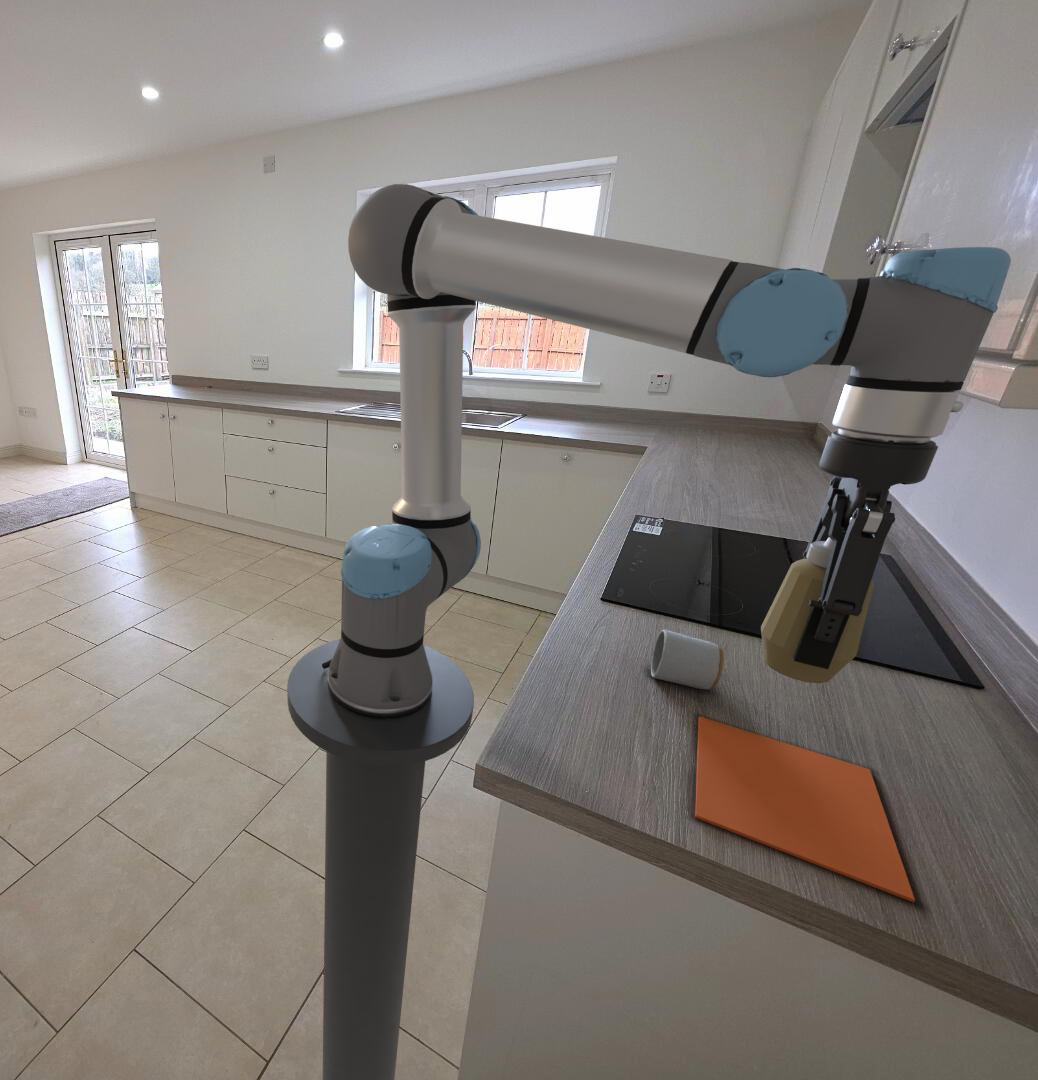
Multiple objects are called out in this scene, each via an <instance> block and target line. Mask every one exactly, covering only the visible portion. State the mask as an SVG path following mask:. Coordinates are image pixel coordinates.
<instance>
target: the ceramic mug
mask: <svg viewBox="0 0 1038 1080" xmlns="http://www.w3.org/2000/svg"><path fill="white" fill-rule="evenodd" d="M724 653H725V652H724V651H723V648H722V647H721V646H720V645H718V644H716V643H714V642H711V641H708V640H705V639H702V638H696V637H693V636H689V635H687V634H682V633H680V632H675V631H672V630H668V629H663V630H661V631H660V632H659V634H658V636H657V638H656V641H655V644H654V647H653V652H652V658H651V664H650V674H651V677H652V678H654V679H656V680H661V681H665V682H668V683H673V684H678V685H682V686H687V687H691V688H695V689H698V690H712V689H715V688H716V687H717V685H718V684H719V682H720V680H721V677H722V675H723V672H724V671H723V670H724V665H725V654H724Z"/></svg>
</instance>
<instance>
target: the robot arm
mask: <svg viewBox="0 0 1038 1080" xmlns="http://www.w3.org/2000/svg"><path fill="white" fill-rule="evenodd" d="M349 226H350V227H349V231H348V237H347V238H348V239H347V245H348V246H347V248H348V249H347V250H348V255H349V260H350V262H351V265H352V268H353V270H354V272H355V273H356V275H357V276H358V278H359V279H360V280H361V281H362V282H363V284H365V285H366V286H368V287H369V288H370V289H372V290H373V291H376V292H379V293H381V294H383V295H386V299H387V300H386V301H387V302H386V303H387V317H389V318H390V319H391V320H392V321H393V322H394V323H395V324H396V325H397V328H398V332H399V333H398V335H399V336H398V338H399V341H398V342H399V343H398V345H399V392H400V393H399V394H400V395H399V398H400V399H399V400H400V440H401V441H400V449H401V450H400V452H401V455H400V457H401V458H400V459H401V497H400V498H399V499H398V500H397V501H396V502H395V503H394V504H393V505H392V507H391V512H392V513H391V514H392V515H391V517H392V520H391V521H392V523H384V524H383V523H382V524H381V525H380V526H376V525H371V526H369V527H365V528H363V529H360V530H359V531H357V532H356V533H355V534H353V535H352V536H351V537H350V538H349V539H348V541H347V542H346V544H345V546H344V549H343V556H342V562H341V567H340V575H341V617H340V619H341V620H340V625H341V626H340V631H341V632H340V638H339V639H340V641H339V644H338V646H337V649H336V651H335V653H334V656H333V658H332V659H331V660H329V661H327V662H325V663H322V667H323V668H324V669H326V668H328V667H329V670H328V689H329V692H330V694H331V696H332V697H333V699H334V700H335V701H336V702H337V703H338V704H340V705H341V706H342V707H344V708H345V709H347V710H349V711H351V712H353V713H356V714H358V715H362V716H365V717H370V718H377V719H393V718H400V717H404V716H408V715H411V714H413V713H415V712H417V711H419V710H420V709H422V708H423V707H424V706H425V705H426V704H427V703H428V701H429V700H430V697H431V694H432V685H433V679H432V673H431V670H430V666H429V662H428V659H427V655H426V652H425V648H424V646H425V644H424V636H425V627H426V626H425V625H426V615H427V611H428V608H429V606H430V605H432V604H433V603H434V602H435V601H437V599H439V598H440V597H441V596H442V595H444V594H445V593H447V592H448V591H449V590H451V589H452V588H453V587H454V586H456V585H457V584H459V583H460V582H461V581H462V580H464V579H465V578H466V577H467V576H468V575H469V574H470V572H471V571H472V569H473V568H474V567H475V565H476V564H477V562H478V560H479V557H480V553H481V548H482V541H481V535H480V531H479V529H478V526H477V525H476V523H474V522H473V521H472V518H471V516H472V515H471V513H472V511H471V510H472V508H471V504H470V503H469V502H468V501H467V500H466V499H465V498H464V497H463V496H462V494H461V491H462V487H461V486H462V485H461V484H462V429H463V428H462V427H463V375H464V373H463V372H464V325H465V322H466V320H467V319H468V318H469V317H470V315H472V313H473V312H474V311H475V310H476V308H477V302H479V303H483V304H487V305H491V306H495V307H499V308H502V309H507V310H511V311H515V312H519V313H524V314H527V315H531V316H535V317H539V318H542V319H547V320H551V321H555V322H559V323H563V324H568V325H571V326H574V327H579V328H583V329H587V330H591V331H594V332H599V333H604V334H606V335H612V336H614V337H619V338H623V339H628V340H632V341H635V342H639V343H644V344H647V345H650V346H655V347H659V348H663V349H666V350H670V351H675V352H680V353H683V354H687V355H691V356H693V357H697V358H701V359H704V360H707V361H712V362H715V363H719V364H723V365H727V366H731V367H733V368H734V369H735V370H736V371H738V372H740V373H743V374H746V375H751V376H756V377H762V378H778V377H783V376H788V375H790V374H792V373H795V372H798V371H801V370H803V369H805V368H808V367H809V366H813V365H815V366H816V365H817V366H818V365H819V366H822V365H824V366H837V367H838V366H850V367H851V368H850V372H849V373H850V374H849V375H848V377H847V380H846V383H844V386H843V389H842V393H841V395H840V398H839V401H838V404H837V406H836V407H837V408H836V410H835V413H834V416H833V418H832V419H833V420H832V422H831V424H832V426H833V427H835V428H837V430H836V431H833V432H831V433H830V434H828V436H827V440H826V442H825V445H824V448H823V451H822V454H821V457H820V459H819V463H818V465H819V468H820V469H821V470H822V471H823V472H825V473H828V474H829V475H832V476H833V478H832V479H831V480H830V481H829V488H828V491H827V495H826V498H825V499H824V500H825V501H824V502H823V505H822V507H821V510H820V513H819V516H818V518H817V520H816V522H815V525H814V528H813V531H812V533H811V535H810V537H809V541H808V542H807V543H808V544H807V546H806V549H805V551H803V553H802V557H803V559H807V557H806V556H807V553H808V550H809V547H810V544H811V543H813V542H816V541H827V539H828V538H830V539H832V540H833V545H832V549H831V553H830V557H829V561H828V565H827V569H826V573H825V577H824V581H823V585H822V589H821V593H820V597H819V599H818V601H814V600H808V606H812V608H811V611H810V614H809V617H808V619H807V622H806V625H805V627H804V630H803V633H802V636H801V638H800V641H799V644H798V647H797V649H796V652H795V655H794V657H793V658H794V661H796V662H800V663H804V664H808V665H812V666H816V667H820V668H824V669H829V666H830V664H831V661H832V659H833V656H834V654H835V651H836V649H837V646H838V644H839V641H840V639H841V636H842V633H843V631H844V628H845V626H846V623H847V621H848V618H849V616H850V615H853V616H859V615H860V613H861V612H862V606H863V603H864V600H865V597H866V594H867V591H868V588H869V585H870V582H871V579H873V576H874V574H875V571H876V567H877V564H878V561H879V559H880V556H881V552H882V550H883V547H884V544H885V541H886V538H887V536H888V534H889V533H890V530H891V528H892V526H893V524H894V523H895V522H896V514H895V512H891V510H892V507H893V502H892V500H888V497H889V495H890V491H889V490H890V489H891V487H893V486H896V485H915V484H919V483H921V482H923V481H924V480H925V479H926V478H927V475H928V473H929V470H930V469H931V466H932V463H933V461H934V459H935V456H936V453H937V452H938V449H939V446H938V445H937V442H936V441H934V440H931V439H932V438H937V437H939V436H942V435H943V434H944V431H945V429H946V426H947V425H948V422H949V419H950V415H951V413H958V412H960V411H962V409H963V408H964V403H963V401H961V400H960V401H959V400H958V397H959V396H960V392H961V390H962V388H963V386H964V383H965V381H966V378H967V376H968V374H969V372H970V369H971V367H972V365H973V362H974V360H975V357H976V355H977V353H978V351H979V348H980V346H981V343H982V341H983V339H984V337H985V335H986V332H987V329H988V327H989V325H990V323H991V320H992V319H993V316H994V313H997V311H998V309H999V307H998V306H999V305H998V304H999V300H1000V297H1001V294H1002V291H1003V288H1004V285H1005V282H1006V278H1007V277H1008V272H1009V269H1010V266H1011V263H1012V258H1011V256H1010V254H1009V253H1008V252H1007V251H1006V250H1004V249H1002V248H999V247H994V246H993V247H992V246H991V247H990V246H965V247H963V246H962V247H947V248H935V249H918V250H917V249H916V250H910V251H909V250H908V251H902V252H898V253H896V254H893V256H891V257H890V258H889V259H888V261H887V262H886V264H885V266H884V269H883V270H881V271H880V274H879V276H869V277H864V278H863V277H858V278H852V279H851V278H849V279H848V278H847V279H846V278H845V279H844V278H843V279H841V278H840V279H839V278H837V279H835V278H834V279H833V278H830V277H829V276H828V274H827V273H824V272H820V271H816V270H812V269H807V268H800V267H791V268H785V269H784V268H779V267H773V266H767V265H763V264H762V265H761V264H755V263H751V262H741V261H734V260H732V259H729V258H723V257H717V256H712V255H711V256H710V255H706V254H700V253H695V252H694V253H693V252H688V251H683V250H677V249H671V248H665V247H661V246H654V245H648V244H643V243H637V242H631V241H625V240H620V239H615V238H609V237H603V236H597V235H591V234H587V233H586V234H585V233H580V232H575V231H569V230H563V229H558V228H552V227H545V226H541V225H535V224H530V223H529V224H528V223H523V222H517V221H512V220H506V219H502V218H501V219H500V218H494V217H488V216H483V215H479V214H478V213H477V212H476V211H475V210H474V209H472V208H471V207H469V206H468V205H467V204H466V203H465V202H464V201H461V200H460V199H456V198H454V197H451V196H443V195H440V194H438V193H434V192H431V191H430V190H429V191H428V190H425V189H423V188H421V187H418V186H415V185H413V184H408V183H394V184H389V185H386V186H383V187H381V188H378V189H377V190H375V191H374V192H372V193H370V194H369V196H368V197H367V198H365V199H364V200H363V202H361V204H360V205H359V206H358V208H357V210H356V212H355V214H354V216H353V218H352V220H351V223H350V225H349ZM843 531H846V532H843Z"/></svg>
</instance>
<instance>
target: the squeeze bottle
mask: <svg viewBox="0 0 1038 1080" xmlns="http://www.w3.org/2000/svg"><path fill="white" fill-rule="evenodd" d="M843 532H846V531H843ZM832 545H833V540H832V539H830V538H828V539H827V541H816V542H813V543H811V544H810V547H809V550H808V553H807V556H806V557H807V559H804V558H801V559H799V560H796V561H794V562H792V563H791V565H790V566H789V568H788V570H787V573H786V575H785V577H784V579H783V581H782V582H781V584H780V587H779V589H778V591H777V593H776V595H775V597H774V599H773V601H772V603H771V605H770V607H769V609H768V612H767V613H766V615H765V616H764V617H765V618H764V620H763V622H762V623H761V625H760V632H761V641H762V642H761V643H762V652H763V653H762V654H763V660H764V663H765V664H766V665H767V666H768V667H769V668H770V669H772V670H774V671H775V672H777V673H778V674H781V675H782V676H785V677H788V678H789V679H793V680H797V681H800V682H804V683H809V684H825V683H829V682H830V681H831V680H832V679H833V678H834V677H835V676H836V675H837V674H838V673H839V672H841V670H842V669H843V668H844V667H845V666H847V665H848V664H849V663H850V662H851V661H852V660H853V659H854V658H855V657H856V656H857V655H858V652H859V647H860V643H861V638H862V635H863V631H864V627H865V622H866V618H867V614H868V610H869V606H870V602H871V598H872V594H873V591H874V586H875V581H874V580H873V578H872V579H871V582H870V585H869V588H868V591H867V594H866V597H865V600H864V603H863V606H862V612H861V613H860V615H859V616H853V615H850V616H849V618H848V621H847V623H846V626H845V628H844V631H843V633H842V636H841V639H840V641H839V644H838V646H837V649H836V651H835V654H834V656H833V659H832V661H831V664H830V666H829V669H824V668H820V667H816V666H812V665H808V664H804V663H800V662H796V661H794V658H793V657H794V655H795V652H796V649H797V647H798V644H799V641H800V638H801V636H802V633H803V630H804V627H805V625H806V622H807V619H808V617H809V614H810V611H811V608H812V606H808V600H814V601H818V599H819V597H820V593H821V589H822V585H823V581H824V577H825V573H826V569H827V565H828V561H829V557H830V553H831V549H832Z"/></svg>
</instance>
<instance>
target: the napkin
mask: <svg viewBox="0 0 1038 1080" xmlns="http://www.w3.org/2000/svg"><path fill="white" fill-rule="evenodd" d="M697 720H698V721H697V722H698V723H697V749H696V751H697V752H696V776H695V779H696V780H695V807H694V809H695V810H694V818H695V819H698V820H701V821H703V822H706V823H707V824H711V825H712V826H715V827H718V828H721V829H724V830H726V831H728V832H731V833H733V834H736V835H739V836H740V837H741V836H742V837H744V838H747V839H749V840H751V841H754V842H757V843H760V844H762V845H764V846H767V847H770V848H772V849H775V850H777V851H779V852H782V853H785V854H788V855H790V856H793V857H795V858H798V859H800V860H803V861H806V862H808V863H811V864H813V865H816V866H818V867H821V868H824V869H826V870H829V871H831V872H833V873H837V874H839V875H842V876H844V877H847V878H850V879H852V880H855V881H856V882H860V883H862V884H865V885H867V886H869V887H873V888H875V889H878V890H880V891H883V892H885V893H888V894H891V895H893V896H896V897H898V898H901V899H904V900H906V901H908V902H911V903H915V901H916V898H915V895H914V892H913V890H912V887H911V883H910V880H909V879H908V875H907V873H906V870H905V865H904V864H903V861H902V858H901V855H900V852H899V850H898V846H897V843H896V841H895V838H894V835H893V832H892V829H891V826H890V823H889V821H888V817H887V815H886V811H885V808H884V806H883V802H882V801H881V800H882V799H881V797H880V795H879V792H878V789H877V786H876V783H875V780H874V777H873V774H872V770H871V769H870V768H867V767H865V766H861V765H857V764H854V763H851V762H848V761H845V760H841V759H838V758H835V757H832V756H829V755H825V754H822V753H820V752H815V751H814V750H813V751H812V750H810V749H807V748H803V747H799V746H796V745H793V744H790V743H787V742H784V741H780V740H777V739H774V738H771V737H768V736H765V735H760V734H758V733H756V732H755V733H754V732H751V731H748V730H744V729H742V728H739V727H735V726H732V725H729V724H726V723H722V722H720V721H717V720H714V719H713V720H712V719H709V718H706V717H703V716H700V715H699V716H698V719H697Z"/></svg>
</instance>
